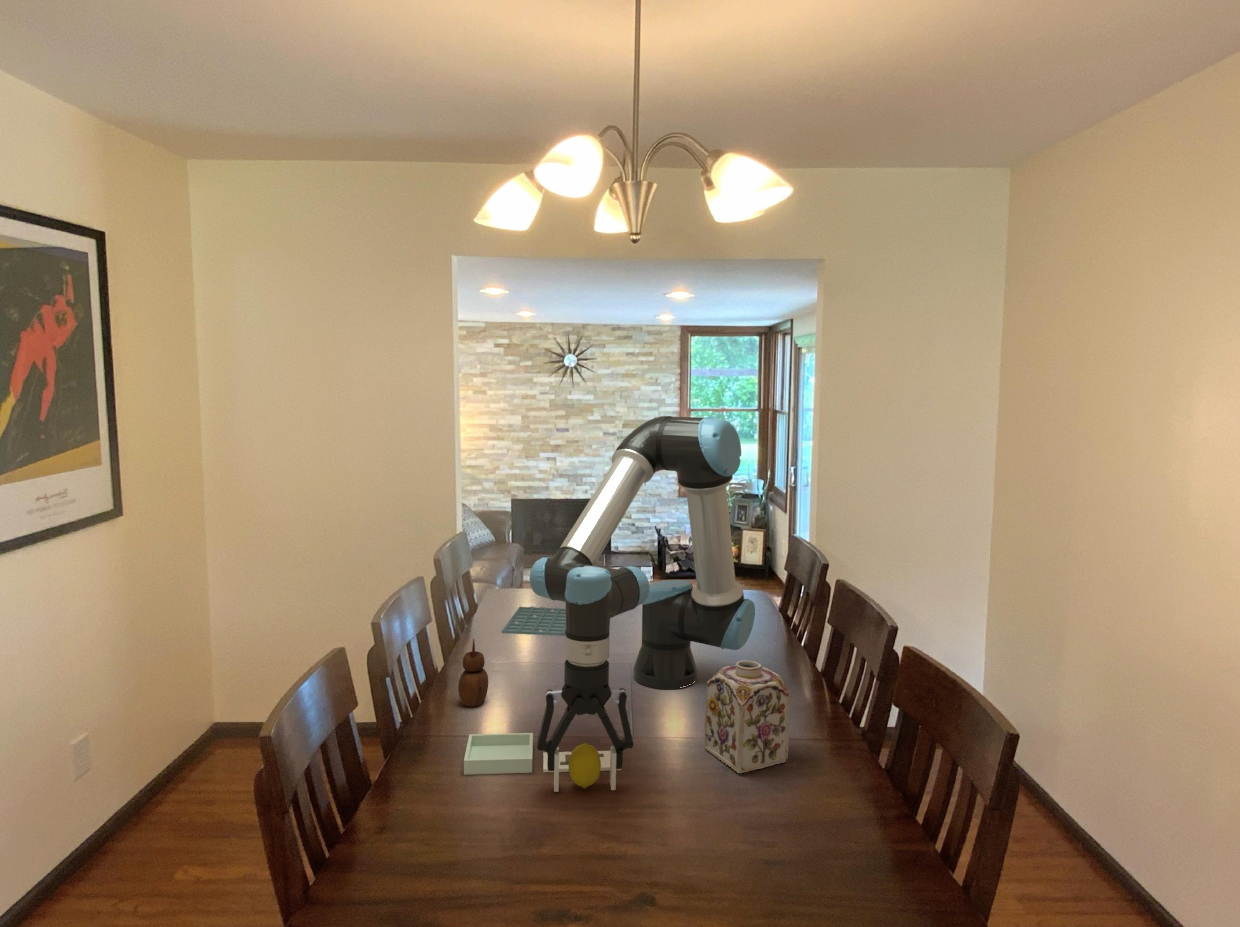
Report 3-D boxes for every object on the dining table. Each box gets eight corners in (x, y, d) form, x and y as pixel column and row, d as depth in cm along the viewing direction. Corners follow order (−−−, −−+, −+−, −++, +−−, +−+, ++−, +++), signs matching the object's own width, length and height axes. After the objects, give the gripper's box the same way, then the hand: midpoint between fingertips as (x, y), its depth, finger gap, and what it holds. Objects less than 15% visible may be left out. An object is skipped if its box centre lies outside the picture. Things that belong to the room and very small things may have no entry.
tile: (617, 753, 146) (617, 749, 146) (621, 770, 140) (621, 766, 140) (543, 755, 145) (543, 751, 144) (543, 772, 138) (543, 768, 138)
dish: (532, 745, 148) (532, 732, 148) (532, 772, 138) (532, 758, 138) (469, 747, 147) (469, 734, 147) (463, 774, 137) (463, 760, 137)
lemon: (567, 780, 136) (568, 736, 135) (599, 779, 136) (600, 735, 135) (568, 796, 130) (569, 751, 129) (601, 796, 131) (602, 750, 130)
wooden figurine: (480, 711, 164) (480, 642, 162) (454, 708, 165) (454, 639, 163) (491, 698, 170) (492, 632, 169) (467, 696, 171) (467, 630, 170)
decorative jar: (737, 776, 138) (741, 679, 137) (701, 749, 149) (704, 658, 147) (790, 763, 144) (794, 669, 142) (752, 737, 154) (755, 649, 152)
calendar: (521, 608, 243) (521, 600, 243) (612, 611, 241) (612, 604, 240) (501, 636, 216) (501, 627, 216) (603, 640, 214) (603, 631, 213)
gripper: (521, 668, 126) (520, 800, 128) (653, 666, 128) (650, 796, 130) (522, 652, 134) (521, 777, 136) (647, 651, 136) (644, 774, 138)
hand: (584, 786), depth 133 cm, fingers open, 9 cm apart
